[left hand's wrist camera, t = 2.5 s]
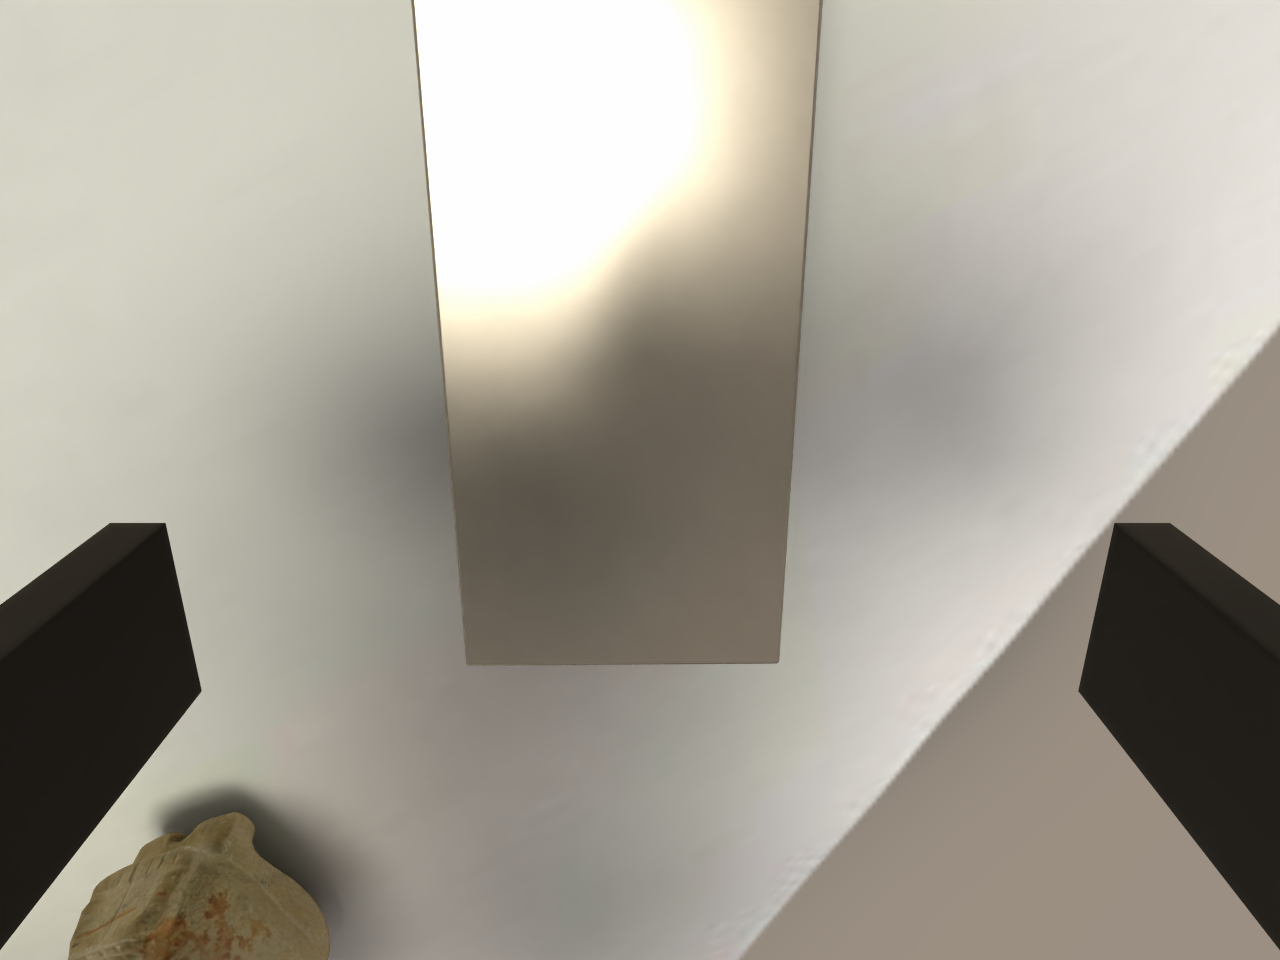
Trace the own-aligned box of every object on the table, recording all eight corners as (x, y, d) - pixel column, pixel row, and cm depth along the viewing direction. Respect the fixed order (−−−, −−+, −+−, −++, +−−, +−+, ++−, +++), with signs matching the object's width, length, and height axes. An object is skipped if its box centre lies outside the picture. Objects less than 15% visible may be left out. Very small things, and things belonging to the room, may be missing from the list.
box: (732, 500, 26) (779, 664, 18) (515, 501, 26) (465, 666, 18) (773, -500, 18) (890, -1011, 10) (461, -503, 18) (325, -1021, 10)
